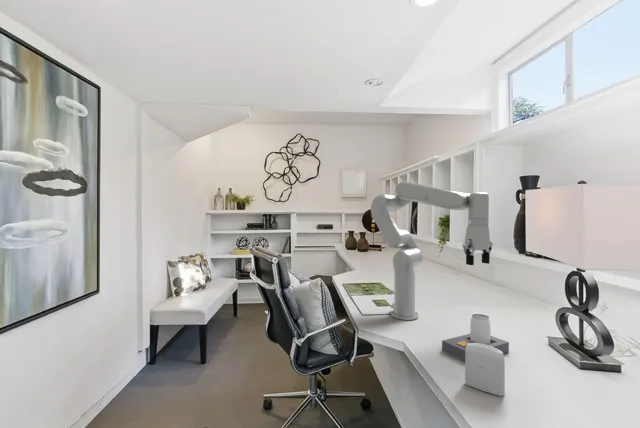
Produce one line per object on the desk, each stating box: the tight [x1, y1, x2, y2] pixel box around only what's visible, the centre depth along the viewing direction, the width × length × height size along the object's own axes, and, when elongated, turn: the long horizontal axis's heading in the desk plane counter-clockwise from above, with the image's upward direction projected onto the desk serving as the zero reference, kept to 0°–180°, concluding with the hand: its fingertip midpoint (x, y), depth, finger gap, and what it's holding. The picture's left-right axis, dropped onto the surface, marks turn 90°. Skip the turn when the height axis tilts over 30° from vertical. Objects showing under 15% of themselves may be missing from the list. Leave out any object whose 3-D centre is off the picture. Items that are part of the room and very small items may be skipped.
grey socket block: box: [441, 333, 510, 362], centre depth 120 cm, size 12×20×4 cm, turn 118°
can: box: [469, 313, 491, 345], centre depth 121 cm, size 6×6×12 cm
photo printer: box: [464, 343, 506, 397], centre depth 95 cm, size 10×4×12 cm, turn 47°
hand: (477, 264), depth 138 cm, fingers open, 9 cm apart
